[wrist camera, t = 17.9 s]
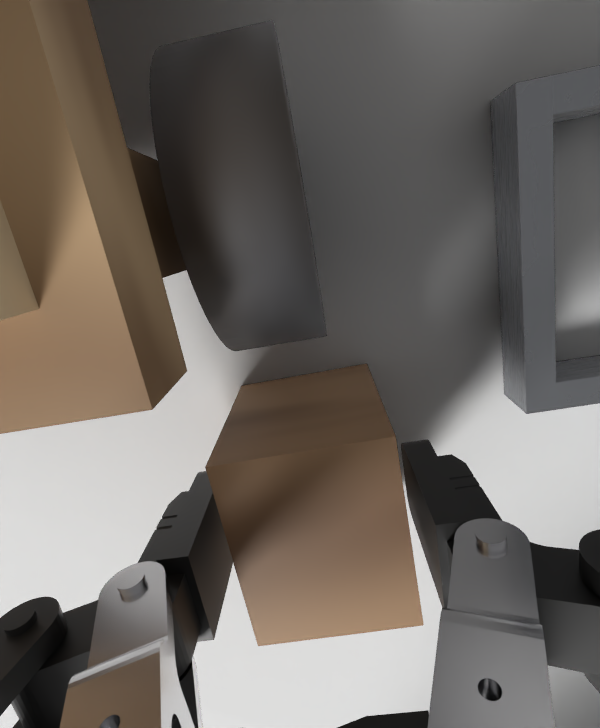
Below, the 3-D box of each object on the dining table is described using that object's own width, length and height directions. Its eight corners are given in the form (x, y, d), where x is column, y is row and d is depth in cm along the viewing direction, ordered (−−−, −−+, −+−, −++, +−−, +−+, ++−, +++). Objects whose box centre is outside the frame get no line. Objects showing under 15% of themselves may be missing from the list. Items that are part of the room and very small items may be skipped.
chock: (388, 498, 15) (423, 625, 10) (275, 516, 15) (258, 646, 11) (366, 362, 14) (395, 436, 9) (242, 384, 14) (205, 467, 9)
